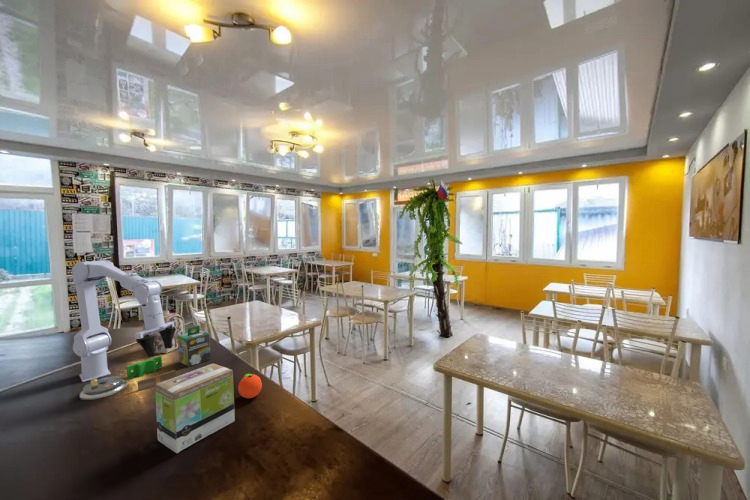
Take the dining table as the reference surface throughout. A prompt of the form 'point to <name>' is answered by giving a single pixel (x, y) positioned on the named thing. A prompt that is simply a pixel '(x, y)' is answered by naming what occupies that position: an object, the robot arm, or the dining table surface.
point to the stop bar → (155, 380)
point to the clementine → (250, 386)
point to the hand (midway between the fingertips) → (160, 352)
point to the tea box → (194, 406)
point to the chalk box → (194, 347)
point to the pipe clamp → (144, 367)
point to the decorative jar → (179, 330)
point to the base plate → (104, 394)
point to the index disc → (102, 385)
